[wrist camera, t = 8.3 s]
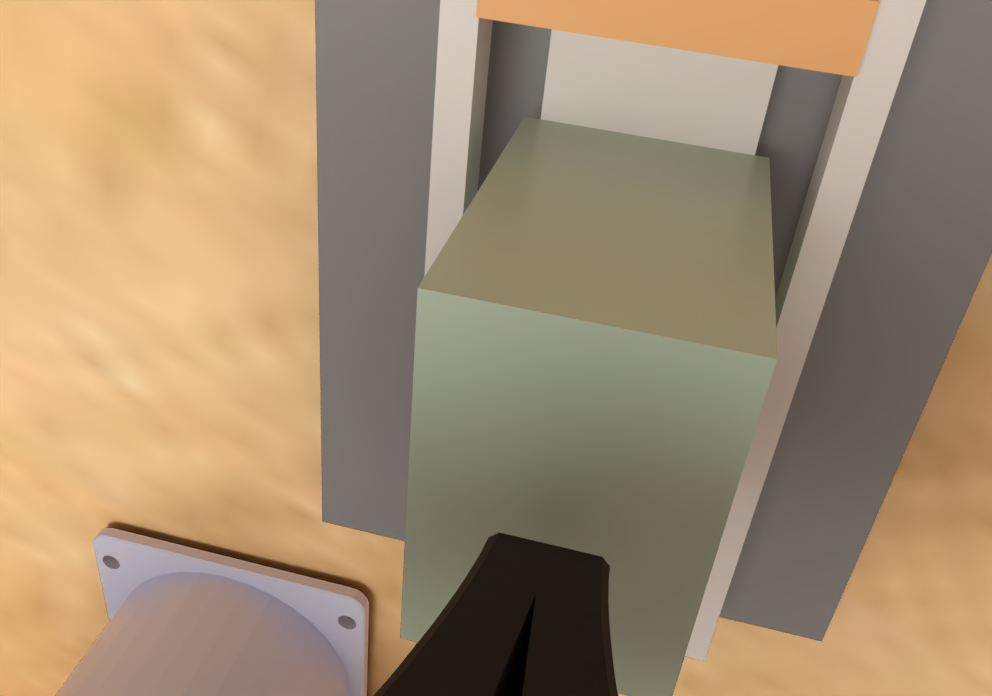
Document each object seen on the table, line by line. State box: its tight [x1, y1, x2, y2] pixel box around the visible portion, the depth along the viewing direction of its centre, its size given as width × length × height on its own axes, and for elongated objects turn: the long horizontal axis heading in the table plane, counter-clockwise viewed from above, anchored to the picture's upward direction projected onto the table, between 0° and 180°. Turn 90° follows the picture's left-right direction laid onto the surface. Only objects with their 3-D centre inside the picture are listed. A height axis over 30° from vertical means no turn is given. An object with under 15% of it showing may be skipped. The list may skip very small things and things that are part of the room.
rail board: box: [315, 0, 992, 661], centre depth 17 cm, size 16×12×3 cm
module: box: [400, 117, 777, 696], centre depth 14 cm, size 6×4×6 cm, turn 174°
